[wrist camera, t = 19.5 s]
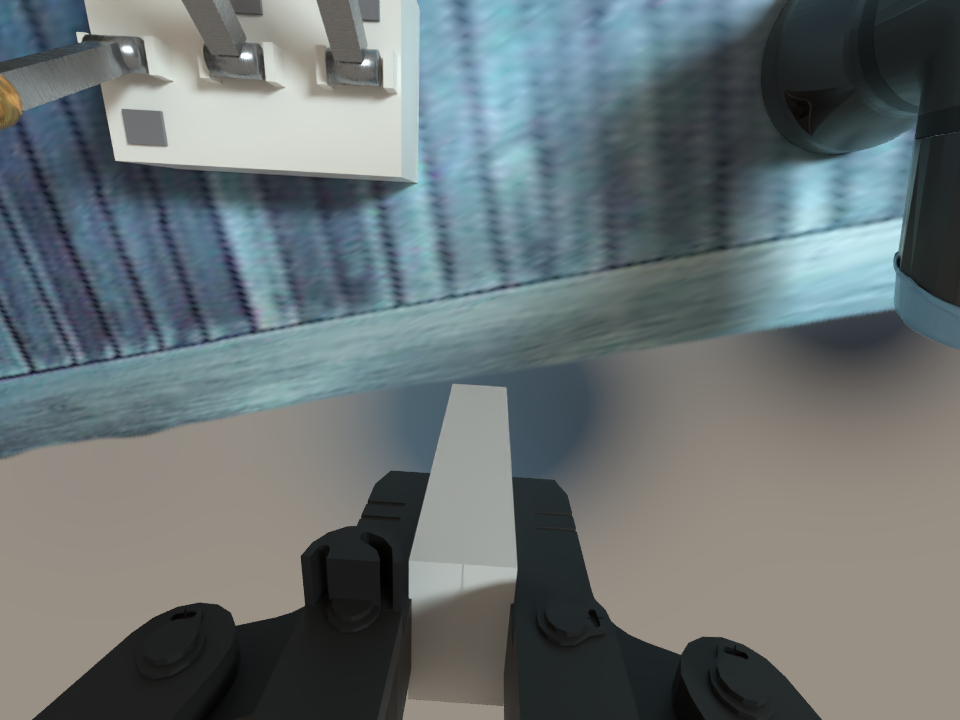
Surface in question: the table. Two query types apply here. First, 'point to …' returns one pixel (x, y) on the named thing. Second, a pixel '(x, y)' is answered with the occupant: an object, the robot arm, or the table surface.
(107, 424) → the table surface
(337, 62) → the lever
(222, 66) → the lever middle
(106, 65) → the lever
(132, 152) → the switch box
